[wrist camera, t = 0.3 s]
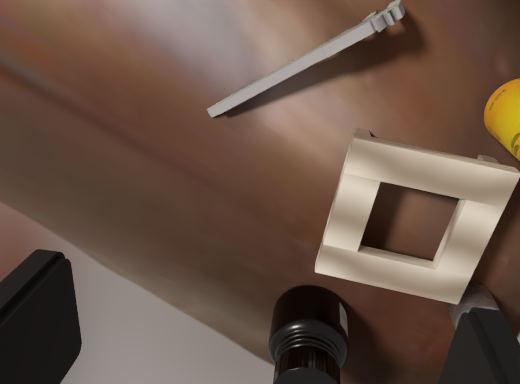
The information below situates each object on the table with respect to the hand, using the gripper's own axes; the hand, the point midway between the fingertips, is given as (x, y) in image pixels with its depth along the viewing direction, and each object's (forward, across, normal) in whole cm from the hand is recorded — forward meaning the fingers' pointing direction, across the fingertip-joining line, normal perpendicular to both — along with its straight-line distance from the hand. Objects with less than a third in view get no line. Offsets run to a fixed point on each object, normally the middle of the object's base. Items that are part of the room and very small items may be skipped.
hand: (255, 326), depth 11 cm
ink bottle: (+36, -4, +29) cm, 47 cm away
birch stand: (+36, -12, +13) cm, 40 cm away
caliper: (+36, +1, 0) cm, 36 cm away
